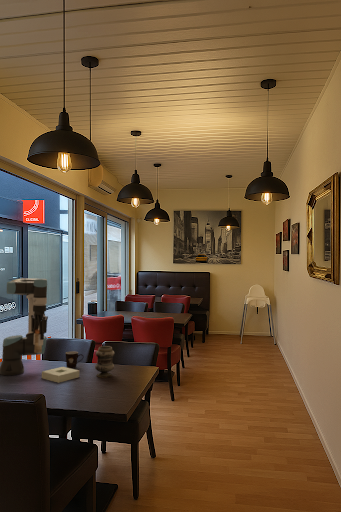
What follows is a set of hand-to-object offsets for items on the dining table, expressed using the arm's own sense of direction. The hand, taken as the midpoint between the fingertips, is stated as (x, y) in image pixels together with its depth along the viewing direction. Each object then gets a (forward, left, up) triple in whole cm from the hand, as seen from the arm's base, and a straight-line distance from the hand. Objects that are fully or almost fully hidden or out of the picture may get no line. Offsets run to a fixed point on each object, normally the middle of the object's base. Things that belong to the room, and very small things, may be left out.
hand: (38, 344), depth 219 cm
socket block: (0, +17, -23) cm, 28 cm away
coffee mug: (-14, +39, -23) cm, 47 cm away
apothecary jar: (+18, +37, -23) cm, 47 cm away
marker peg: (0, 0, -4) cm, 4 cm away
